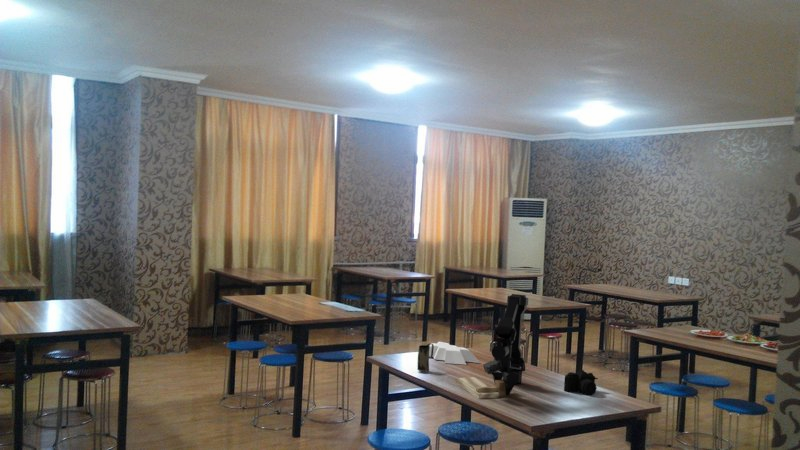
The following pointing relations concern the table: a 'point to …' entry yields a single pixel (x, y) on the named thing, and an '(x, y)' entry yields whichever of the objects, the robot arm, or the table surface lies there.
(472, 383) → the board
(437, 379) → the table surface
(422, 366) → the mug
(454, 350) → the white faceted block
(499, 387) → the wooden mallet
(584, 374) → the film camera
